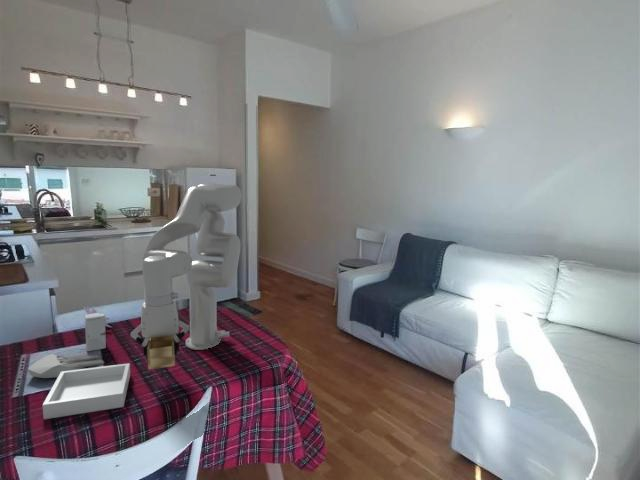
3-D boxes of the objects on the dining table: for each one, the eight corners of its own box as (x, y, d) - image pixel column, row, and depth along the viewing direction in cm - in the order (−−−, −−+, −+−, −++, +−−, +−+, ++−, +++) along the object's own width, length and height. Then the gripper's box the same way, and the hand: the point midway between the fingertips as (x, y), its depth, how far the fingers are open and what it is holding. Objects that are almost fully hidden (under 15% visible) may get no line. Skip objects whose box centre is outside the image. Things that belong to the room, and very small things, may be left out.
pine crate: (174, 347, 120) (173, 330, 119) (174, 365, 110) (173, 346, 109) (150, 350, 118) (149, 333, 117) (148, 369, 108) (147, 350, 107)
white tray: (130, 375, 118) (129, 363, 117) (123, 406, 102) (122, 393, 102) (62, 384, 112) (61, 371, 111) (43, 419, 96) (42, 404, 95)
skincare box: (86, 352, 131) (84, 318, 129) (86, 346, 135) (83, 314, 133) (106, 348, 135) (105, 315, 133) (105, 343, 138) (104, 311, 136)
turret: (105, 372, 123) (107, 358, 123) (29, 385, 109) (31, 369, 109) (96, 361, 130) (98, 347, 130) (24, 371, 116) (25, 356, 116)
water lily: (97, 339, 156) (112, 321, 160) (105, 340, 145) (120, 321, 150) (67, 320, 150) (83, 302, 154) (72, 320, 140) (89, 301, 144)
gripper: (190, 291, 116) (192, 344, 120) (126, 296, 110) (131, 352, 114) (191, 300, 110) (193, 356, 113) (123, 306, 104) (128, 365, 107)
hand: (162, 354), depth 114 cm, fingers closed on pine crate, 7 cm apart
